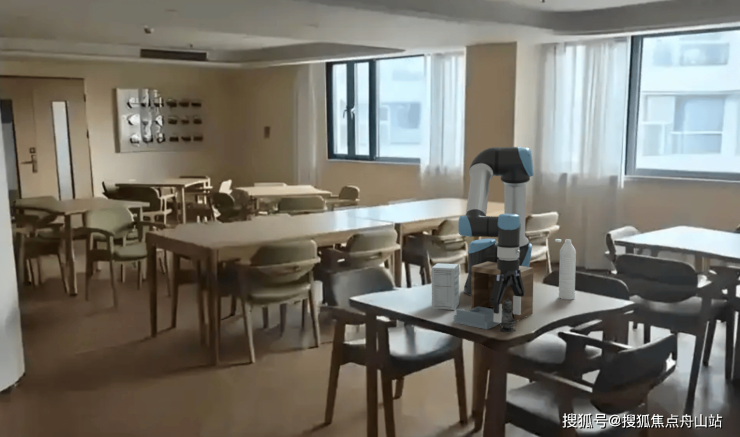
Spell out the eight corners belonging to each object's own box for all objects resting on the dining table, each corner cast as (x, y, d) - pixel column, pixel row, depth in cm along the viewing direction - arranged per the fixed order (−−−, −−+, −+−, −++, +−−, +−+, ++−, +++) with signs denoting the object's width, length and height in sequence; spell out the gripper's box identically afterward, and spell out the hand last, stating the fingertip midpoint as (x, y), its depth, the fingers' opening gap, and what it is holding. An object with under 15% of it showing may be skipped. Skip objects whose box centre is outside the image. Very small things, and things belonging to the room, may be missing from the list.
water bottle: (571, 295, 279) (572, 237, 276) (577, 299, 272) (579, 240, 269) (551, 296, 278) (552, 238, 275) (556, 300, 272) (558, 240, 268)
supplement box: (459, 304, 267) (459, 263, 265) (454, 310, 258) (455, 268, 256) (436, 302, 270) (436, 262, 268) (431, 308, 261) (431, 267, 259)
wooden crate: (471, 311, 256) (471, 266, 254) (487, 305, 265) (487, 261, 263) (517, 320, 243) (518, 272, 241) (532, 313, 252) (533, 267, 250)
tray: (453, 322, 242) (454, 309, 241) (478, 312, 255) (478, 300, 254) (487, 329, 233) (487, 315, 232) (510, 318, 245) (511, 305, 245)
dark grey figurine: (496, 328, 234) (497, 295, 233) (512, 327, 235) (513, 294, 233) (501, 333, 228) (501, 299, 227) (517, 332, 229) (518, 299, 227)
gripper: (499, 264, 216) (498, 327, 219) (534, 254, 235) (533, 312, 238) (479, 262, 221) (479, 323, 224) (516, 252, 240) (515, 309, 242)
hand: (507, 318), depth 231 cm, fingers open, 13 cm apart
